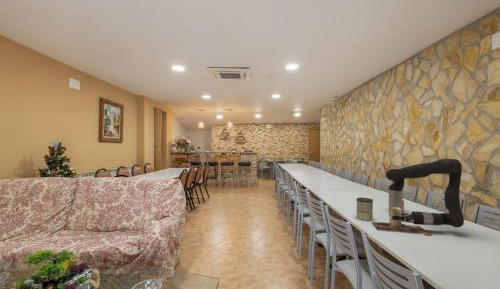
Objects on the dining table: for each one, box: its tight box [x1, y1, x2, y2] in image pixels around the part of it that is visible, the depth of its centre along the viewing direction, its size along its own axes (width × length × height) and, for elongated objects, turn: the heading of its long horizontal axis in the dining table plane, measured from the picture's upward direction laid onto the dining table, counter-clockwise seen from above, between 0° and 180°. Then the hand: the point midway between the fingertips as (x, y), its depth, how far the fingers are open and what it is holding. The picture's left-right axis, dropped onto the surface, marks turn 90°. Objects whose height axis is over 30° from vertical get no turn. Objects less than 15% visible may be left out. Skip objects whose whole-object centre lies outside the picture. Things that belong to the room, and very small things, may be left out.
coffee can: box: [356, 197, 374, 222], centre depth 169 cm, size 10×10×14 cm
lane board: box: [371, 221, 433, 237], centre depth 150 cm, size 28×15×2 cm, turn 78°
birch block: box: [389, 207, 403, 228], centre depth 150 cm, size 5×5×12 cm
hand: (390, 216), depth 151 cm, fingers closed on birch block, 5 cm apart
